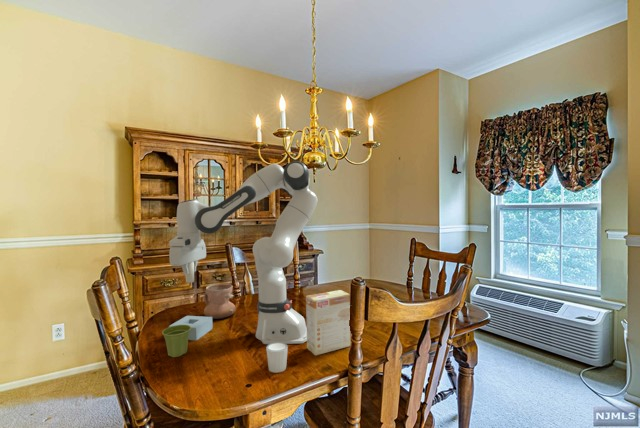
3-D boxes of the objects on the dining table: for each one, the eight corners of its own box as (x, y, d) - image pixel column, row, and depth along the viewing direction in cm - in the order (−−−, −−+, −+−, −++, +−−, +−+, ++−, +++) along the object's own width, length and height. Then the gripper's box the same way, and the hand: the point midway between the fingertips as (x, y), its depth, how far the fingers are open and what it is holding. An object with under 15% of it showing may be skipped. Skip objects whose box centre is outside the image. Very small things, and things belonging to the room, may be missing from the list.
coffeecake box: (341, 339, 122) (340, 289, 121) (351, 346, 115) (350, 293, 115) (306, 348, 114) (305, 295, 114) (315, 356, 108) (314, 300, 108)
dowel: (193, 280, 131) (193, 256, 131) (194, 282, 128) (194, 257, 128) (185, 281, 129) (184, 257, 129) (186, 283, 127) (185, 258, 126)
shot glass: (288, 362, 104) (288, 341, 104) (287, 373, 97) (287, 351, 97) (268, 363, 104) (267, 342, 104) (265, 374, 97) (264, 351, 97)
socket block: (212, 328, 134) (212, 317, 134) (196, 340, 123) (196, 327, 122) (187, 327, 137) (186, 315, 136) (169, 338, 125) (168, 326, 125)
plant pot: (160, 361, 106) (159, 336, 106) (165, 349, 115) (164, 326, 115) (190, 357, 109) (189, 332, 108) (193, 346, 118) (192, 323, 117)
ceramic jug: (244, 314, 152) (243, 285, 151) (220, 324, 139) (219, 292, 139) (218, 308, 161) (217, 281, 160) (194, 317, 148) (193, 287, 148)
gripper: (196, 236, 139) (197, 267, 140) (165, 242, 119) (166, 278, 119) (209, 236, 138) (210, 268, 138) (180, 242, 118) (181, 278, 118)
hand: (189, 273), depth 129 cm, fingers closed on dowel, 3 cm apart
